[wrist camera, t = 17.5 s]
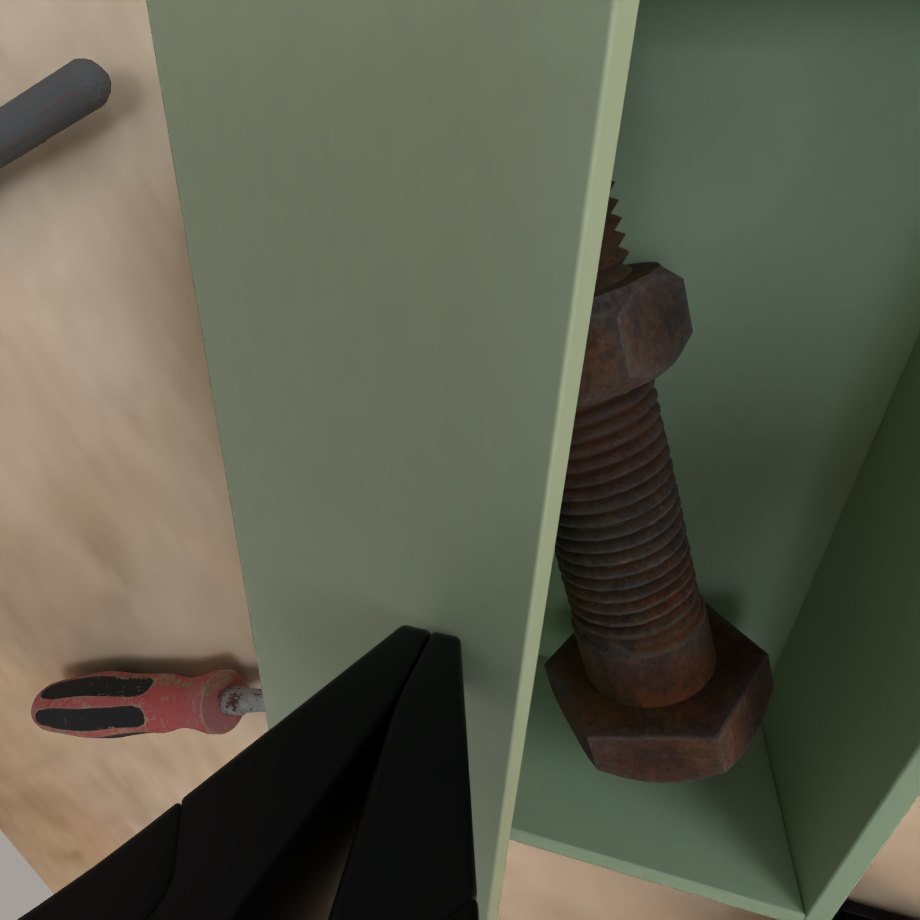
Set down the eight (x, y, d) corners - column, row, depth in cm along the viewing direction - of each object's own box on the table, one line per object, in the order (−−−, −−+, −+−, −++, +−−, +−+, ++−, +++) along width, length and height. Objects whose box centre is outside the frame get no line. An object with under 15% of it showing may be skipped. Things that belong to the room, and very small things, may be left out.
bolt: (567, 113, 14) (678, 611, 19) (371, 177, 13) (539, 673, 18) (724, 1, 9) (821, 740, 14) (404, 101, 8) (630, 833, 13)
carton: (766, 706, 19) (822, 934, 13) (381, 617, 22) (296, 776, 16) (1096, -37, 10) (1682, -279, 4) (366, -30, 13) (160, -173, 7)
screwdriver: (520, 627, 20) (504, 696, 18) (542, 689, 21) (530, 762, 19) (53, 660, 29) (-3, 709, 27) (85, 702, 30) (34, 753, 28)
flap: (486, 990, 12) (475, 1010, 12) (292, 792, 16) (279, 802, 15) (718, -500, 3) (696, -563, 3) (146, -186, 7) (110, -202, 6)
